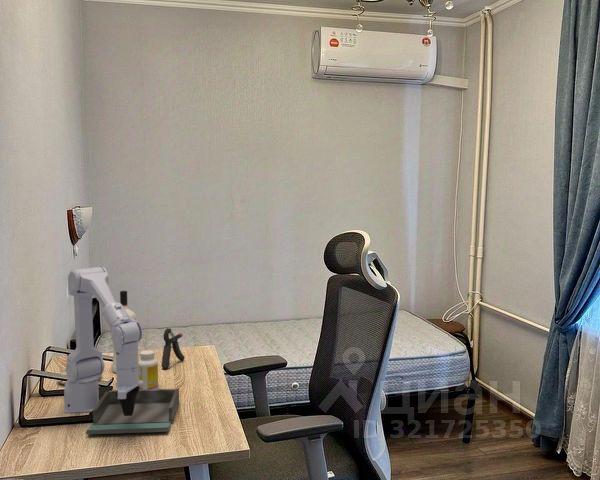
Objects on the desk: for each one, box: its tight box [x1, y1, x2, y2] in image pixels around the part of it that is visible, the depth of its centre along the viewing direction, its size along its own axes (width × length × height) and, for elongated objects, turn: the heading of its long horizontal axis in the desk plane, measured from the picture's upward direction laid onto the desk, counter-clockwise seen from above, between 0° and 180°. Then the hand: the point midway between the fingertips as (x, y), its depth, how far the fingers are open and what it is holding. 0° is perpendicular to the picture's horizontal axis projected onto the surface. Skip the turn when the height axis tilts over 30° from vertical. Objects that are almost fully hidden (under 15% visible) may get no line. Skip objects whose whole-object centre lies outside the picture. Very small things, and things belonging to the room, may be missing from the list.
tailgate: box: [85, 423, 172, 435], centre depth 147 cm, size 22×1×6 cm
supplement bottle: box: [138, 349, 159, 390], centre depth 179 cm, size 7×7×13 cm
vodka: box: [111, 290, 137, 374], centre depth 197 cm, size 9×9×30 cm
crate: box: [92, 388, 180, 425], centre depth 159 cm, size 22×15×5 cm
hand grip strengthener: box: [161, 327, 185, 371], centre depth 204 cm, size 2×12×15 cm, turn 158°
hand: (128, 414), depth 146 cm, fingers closed
